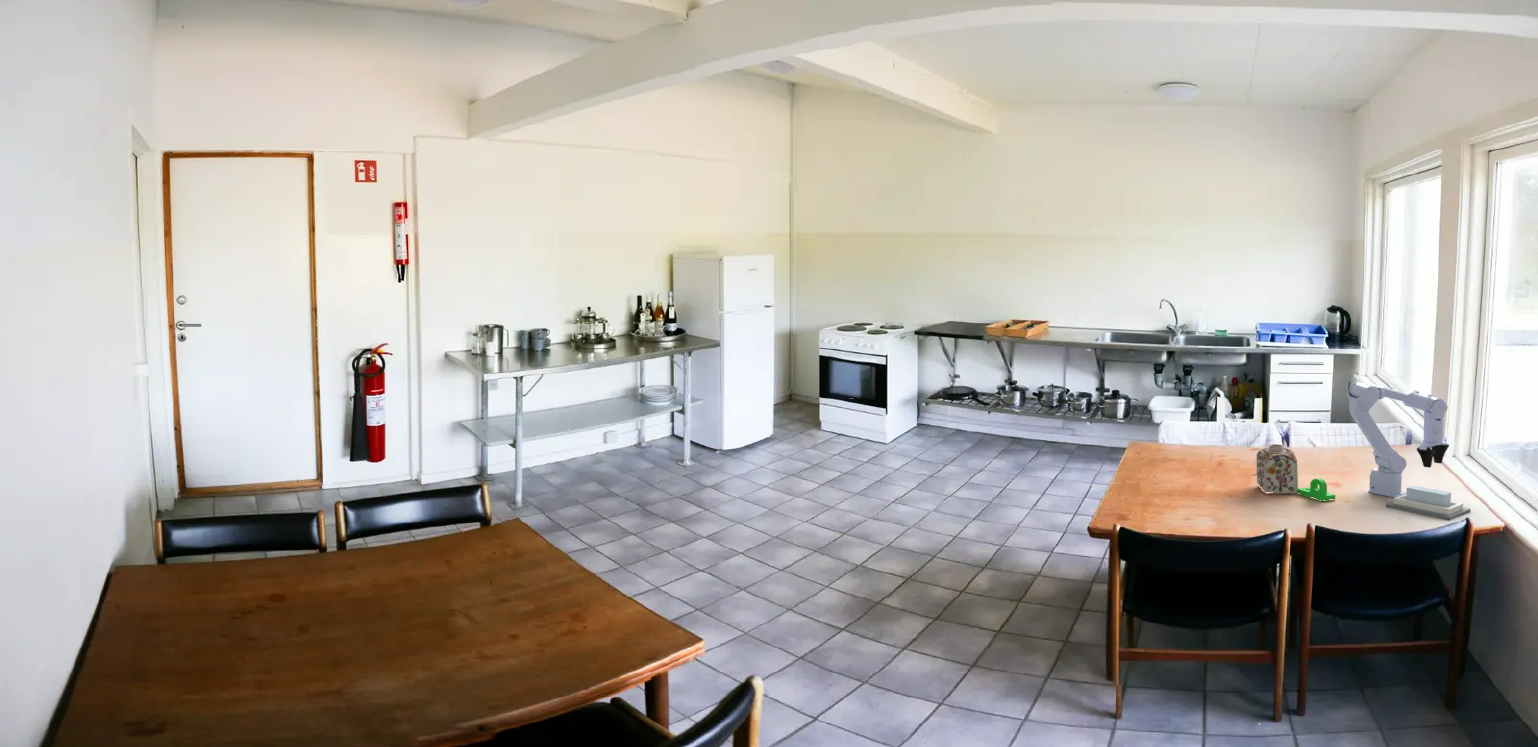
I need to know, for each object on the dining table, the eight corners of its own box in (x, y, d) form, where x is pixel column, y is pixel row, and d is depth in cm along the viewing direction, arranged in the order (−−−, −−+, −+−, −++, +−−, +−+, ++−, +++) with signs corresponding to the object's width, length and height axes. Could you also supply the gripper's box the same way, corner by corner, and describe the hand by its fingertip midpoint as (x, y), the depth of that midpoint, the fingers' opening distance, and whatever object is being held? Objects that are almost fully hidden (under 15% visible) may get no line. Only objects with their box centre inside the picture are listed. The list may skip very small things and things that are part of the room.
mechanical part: (1335, 500, 331) (1336, 479, 330) (1321, 501, 329) (1322, 480, 328) (1308, 491, 342) (1309, 471, 341) (1295, 493, 341) (1296, 473, 340)
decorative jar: (1256, 486, 354) (1255, 442, 351) (1289, 485, 350) (1288, 441, 348) (1264, 495, 342) (1263, 449, 340) (1298, 494, 339) (1297, 448, 336)
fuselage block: (1406, 503, 319) (1406, 487, 318) (1412, 501, 320) (1412, 485, 319) (1444, 511, 308) (1445, 494, 307) (1450, 509, 310) (1451, 492, 309)
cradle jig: (1386, 506, 320) (1386, 498, 319) (1407, 498, 326) (1407, 491, 326) (1449, 520, 302) (1450, 511, 302) (1470, 511, 309) (1470, 503, 308)
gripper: (1435, 434, 322) (1434, 470, 324) (1455, 427, 328) (1455, 463, 330) (1413, 431, 328) (1412, 467, 330) (1434, 424, 334) (1433, 459, 336)
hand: (1432, 465), depth 330 cm, fingers open, 7 cm apart
